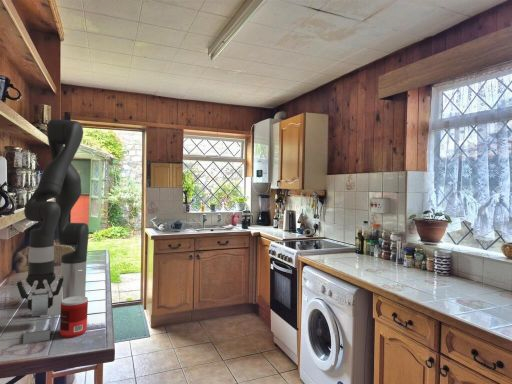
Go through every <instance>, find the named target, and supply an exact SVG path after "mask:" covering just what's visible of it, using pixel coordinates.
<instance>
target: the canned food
mask: <svg viewBox="0 0 512 384" xmlns="http://www.w3.org/2000/svg"><path fill="white" fill-rule="evenodd" d="M88 299H89V298H88V297H87V296H85V297H84V296H74V297H69V298H65V299H63V300H62V301H61V315H59V317H60V320H59V324H60V325H59V334H60V336H61V337H62V338H67V339H69V338H70V339H71V338H77V337H80V336H82V335H84V334H85V333H86V332H87V330H88V328H87V327H88V307H89V306H88V305H89V300H88Z"/></svg>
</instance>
